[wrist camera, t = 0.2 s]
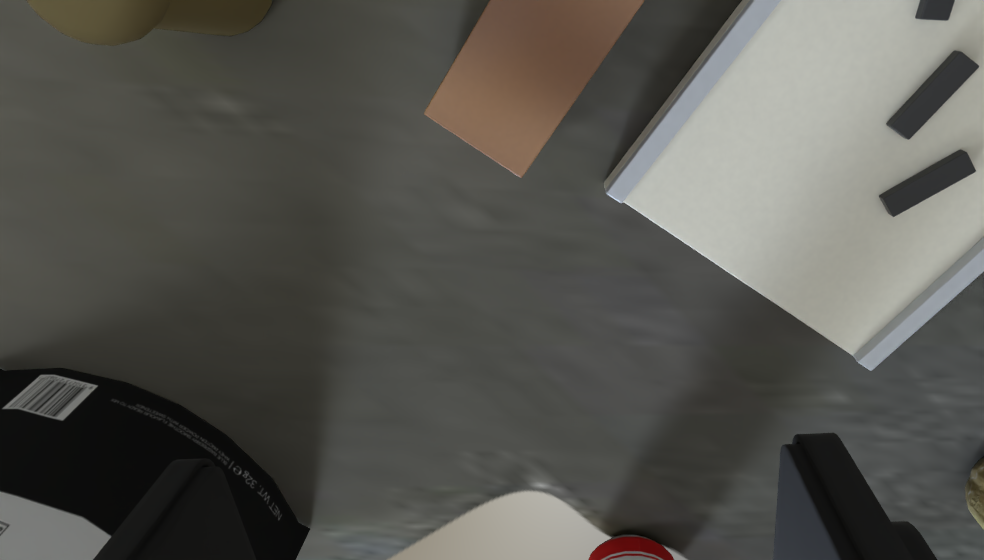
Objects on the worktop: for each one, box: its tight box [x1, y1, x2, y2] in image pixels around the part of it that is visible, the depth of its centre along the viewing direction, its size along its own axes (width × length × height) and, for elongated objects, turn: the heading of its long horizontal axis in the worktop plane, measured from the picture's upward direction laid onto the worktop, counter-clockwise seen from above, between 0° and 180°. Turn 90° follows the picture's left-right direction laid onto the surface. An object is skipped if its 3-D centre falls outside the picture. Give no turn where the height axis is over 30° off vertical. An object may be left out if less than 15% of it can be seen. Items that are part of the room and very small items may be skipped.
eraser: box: [424, 0, 645, 178], centre depth 29 cm, size 11×5×6 cm, turn 147°
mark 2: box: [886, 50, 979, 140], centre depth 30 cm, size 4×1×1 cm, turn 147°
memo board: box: [604, 0, 984, 371], centre depth 31 cm, size 22×18×2 cm
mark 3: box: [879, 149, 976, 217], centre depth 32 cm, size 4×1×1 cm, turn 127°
